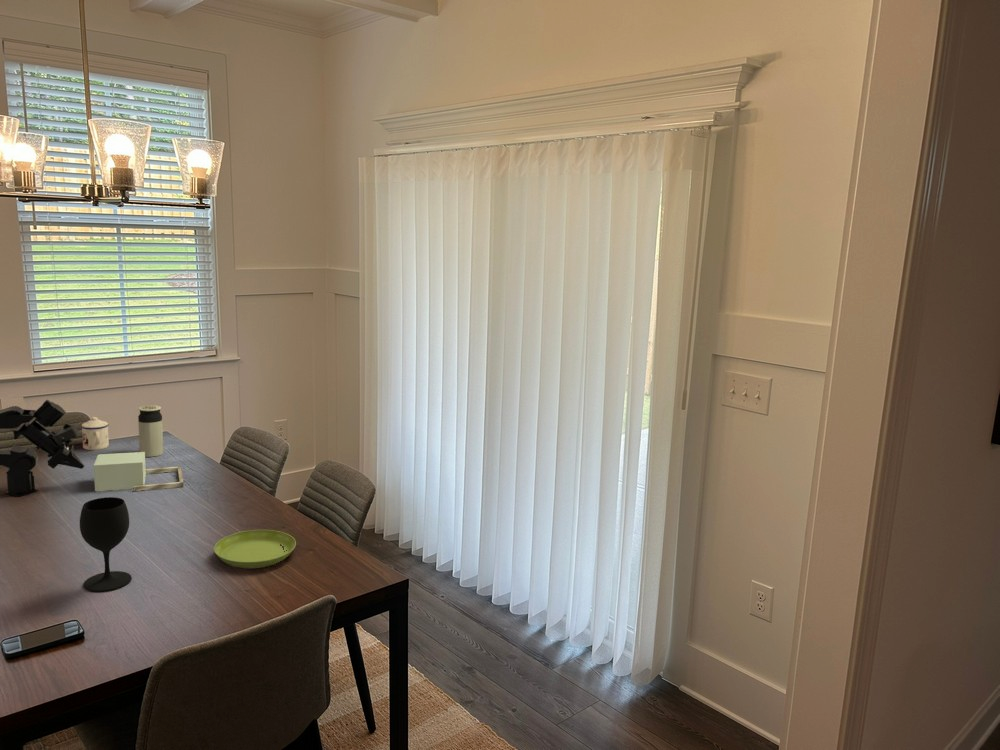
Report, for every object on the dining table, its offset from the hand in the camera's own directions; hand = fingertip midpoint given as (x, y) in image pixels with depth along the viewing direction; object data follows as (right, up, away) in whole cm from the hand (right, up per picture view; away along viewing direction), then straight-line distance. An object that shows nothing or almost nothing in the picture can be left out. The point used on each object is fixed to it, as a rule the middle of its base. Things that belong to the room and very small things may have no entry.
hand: (83, 467), depth 237 cm
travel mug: (+4, 0, +38) cm, 38 cm away
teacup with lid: (-19, +2, +42) cm, 46 cm away
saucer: (+69, -19, -41) cm, 83 cm away
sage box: (+9, -6, +6) cm, 13 cm away
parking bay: (+19, -6, +11) cm, 23 cm away
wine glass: (+40, -20, -60) cm, 75 cm away
